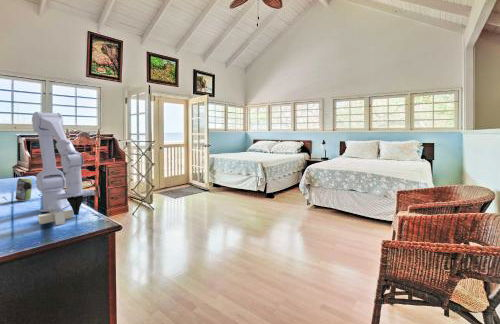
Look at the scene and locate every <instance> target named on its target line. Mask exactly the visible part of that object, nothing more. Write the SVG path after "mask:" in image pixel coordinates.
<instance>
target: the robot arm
mask: <svg viewBox="0 0 500 324" xmlns="http://www.w3.org/2000/svg"><path fill="white" fill-rule="evenodd" d="M31 124H32V129H33V132H35V133H37V135H38V142H39V149H40V155H41V156H40V157H41V163H42V170H41V171H40V172H38V173H37V174H36V175H35V176H36V181H35V185H36V188H37V190H38V191H39V192H40V193H41V194H42V195H41V196H42V205H43V208H42V209H39V210H38V212H39V213H42V212H43V213H49V206H52V205H58V206H59V207H60V208H61V209H62V210H64V209H65V208H68V207H69V205H70V207H71V210H72V211H73V216H78V215H79V214H80V209H81V208H80V207H81V206H82V203H83V201H84V197H87V196H95V195H96V191H95V190H93V189H92V190H91V189H90V190H83V178H82V167H83V165H84V163H85V162H84V157H83V154H82V153H81V152H79V151H77V150H76V148H75V146H74V145H73V143H72V141H71V140H70V139H68V138H67V136H66V134H65V132H64V129H63V125H64V117H63V116H62V114H61V113H59V112H57V113H56V112H41V111H39V112H38V111H35V112H34V113H32V117H31ZM53 138H54V139H55V141H56V143H55V147H54V139H53ZM54 148H56V149H57V151H58V154H59V156H60V157H61V158H60V164H61V166H62V167H61V168H62V171H61V170H60V169H58V168H57V161H56V156H55V149H54ZM64 188H65V190H66V191H65V190H64ZM67 203H69V204H67Z"/></svg>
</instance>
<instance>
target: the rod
mask: <svg viewBox="0 0 500 324" xmlns="http://www.w3.org/2000/svg"><path fill="white" fill-rule="evenodd" d="M63 211H64V212H65V220H68V219H73V218H74V213H73V210H72V208H71V209H65V210H64V209H63ZM37 219H38V224H39V225H44V224H49V223H54V219H53V213H49V212H46V213H44V214H43V213H42V214H38V215H37Z"/></svg>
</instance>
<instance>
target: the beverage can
mask: <svg viewBox="0 0 500 324" xmlns="http://www.w3.org/2000/svg"><path fill="white" fill-rule="evenodd" d="M16 182H17V183H16V190H15V199H16V200H17V201H20V202H21V201H22V202H25V201H29V200H31V197H32V188H33V187H32V186H33V180H32V178H31V177H18V179H17V180H16Z"/></svg>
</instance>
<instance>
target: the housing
mask: <svg viewBox="0 0 500 324" xmlns="http://www.w3.org/2000/svg"><path fill="white" fill-rule="evenodd" d="M48 213H53V219H54V222H53V223H54V225H55V226H61V225H64V224H66V219H65V212H64V209H61V208H60V207H59V206H58V205H52V206H49V212H48Z"/></svg>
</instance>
